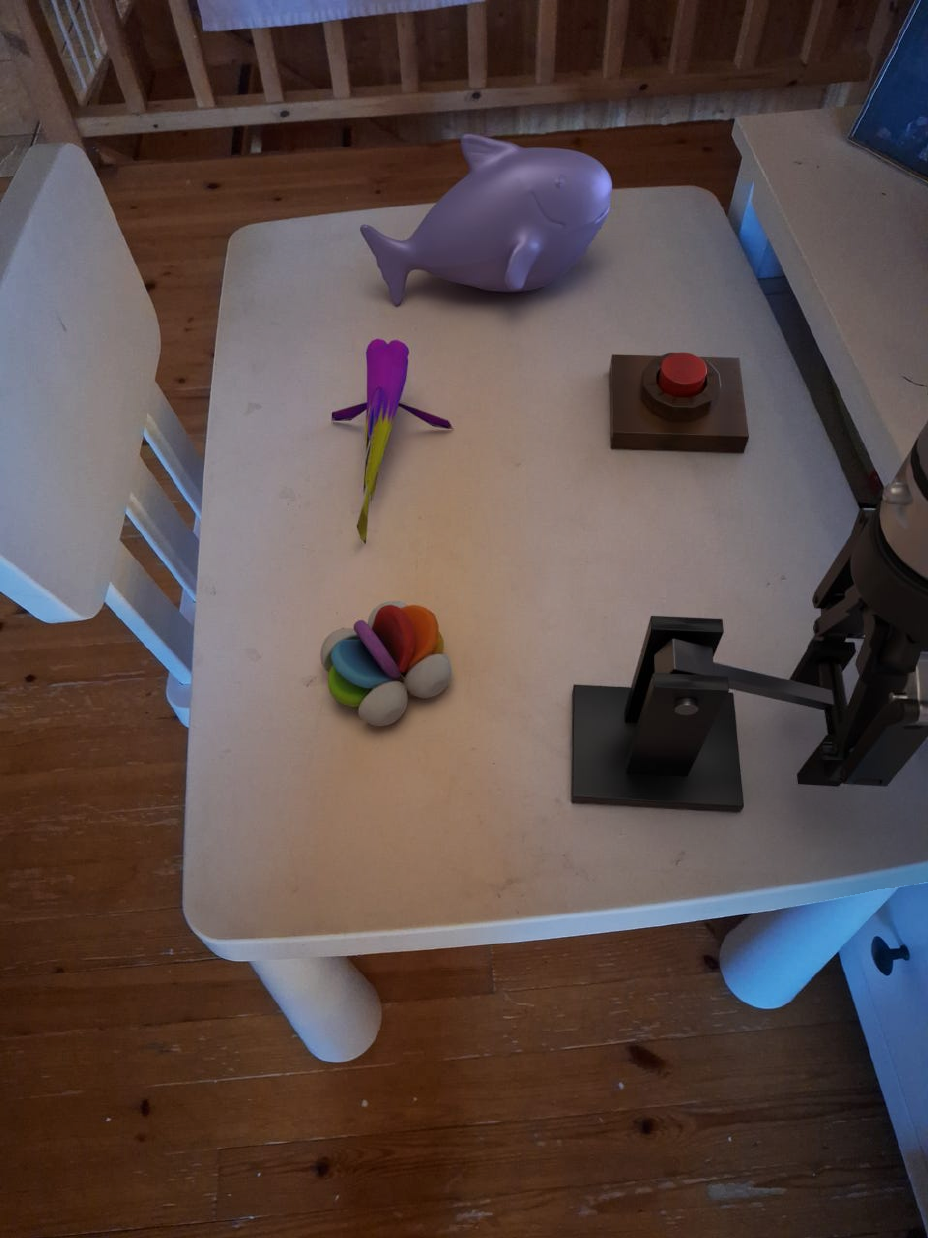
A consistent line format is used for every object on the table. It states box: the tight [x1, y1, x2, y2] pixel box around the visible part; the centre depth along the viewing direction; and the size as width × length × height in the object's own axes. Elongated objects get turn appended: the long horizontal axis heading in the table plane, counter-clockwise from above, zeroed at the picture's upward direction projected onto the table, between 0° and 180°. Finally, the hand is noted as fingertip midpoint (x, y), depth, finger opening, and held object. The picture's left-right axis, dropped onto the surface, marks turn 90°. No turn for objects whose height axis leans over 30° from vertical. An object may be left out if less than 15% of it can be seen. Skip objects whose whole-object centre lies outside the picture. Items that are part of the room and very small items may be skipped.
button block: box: [608, 352, 750, 454], centre depth 83 cm, size 12×10×4 cm
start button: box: [659, 352, 707, 398], centre depth 81 cm, size 4×4×2 cm
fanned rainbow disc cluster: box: [319, 600, 453, 727], centre depth 68 cm, size 8×10×7 cm
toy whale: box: [359, 133, 613, 307], centre depth 89 cm, size 14×25×16 cm, turn 101°
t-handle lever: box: [654, 638, 848, 735], centre depth 57 cm, size 13×6×2 cm, turn 86°
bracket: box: [570, 615, 745, 813], centre depth 61 cm, size 12×9×15 cm
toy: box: [330, 338, 454, 545], centre depth 79 cm, size 12×19×10 cm, turn 173°
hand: (811, 734), depth 63 cm, fingers open, 6 cm apart
